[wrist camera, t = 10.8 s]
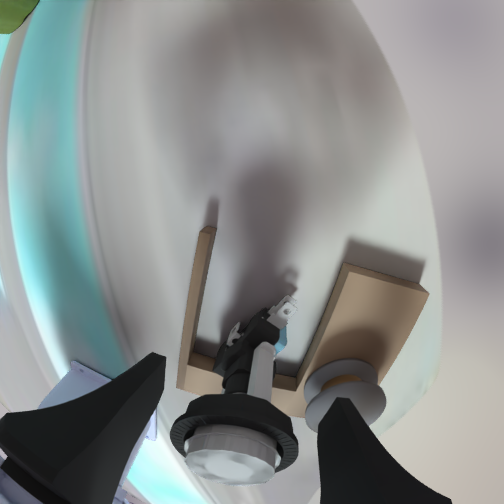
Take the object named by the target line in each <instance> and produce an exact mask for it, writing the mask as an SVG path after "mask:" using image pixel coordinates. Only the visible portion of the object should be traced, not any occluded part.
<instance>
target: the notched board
mask: <svg viewBox="0 0 504 504" xmlns="http://www.w3.org/2000/svg"><path fill="white" fill-rule="evenodd" d="M216 230H217V228H213V227H209V226H206V227H205V228H204V229H202V230H201V231H200V232H199V237H198V242H197V248H196V253H195V259H194V264H193V270H192V276H191V282H190V288H189V294H188V300H187V307H186V313H185V320H184V327H183V334H182V342H181V349H180V357H179V366H178V375H177V384H176V388H178V389H181V390H184V391H187V392H190V393H194V394H197V395H200V396H203V395H205V394H221V392H222V389H223V387H222V381H223V377H222V376H220V375H218V374H217V373H215V372H213V371H212V369H213V366H214V363H215V360H216V359H215V358H211V357H208V356H204V355H201V354H198V353H195V352H193V351H194V345H195V339H196V333H197V327H198V321H199V316H200V310H201V305H202V299H203V294H204V289H205V284H206V279H207V274H208V268H209V264H210V259H211V254H212V249H213V244H214V239H215V235H216ZM428 296H429V293H428V292H427V291H426V290H425V289H424V288H423V287H422V286H421V285H420V284H417V283H413V282H410V281H407V280H403V279H400V278H396V277H393V276H389V275H386V274H382V273H379V272H375V271H372V270H368V269H365V268H361V267H358V266H354V265H350V264H347V263H343V265H342V268H341V271H340V273H339V276H338V279H337V282H336V284H335V287H334V290H333V292H332V295H331V297H330V300H329V302H328V305H327V307H326V310H325V312H324V315H323V317H322V320H321V322H320V324H319V327H318V329H317V331H316V334H315V336H314V338H313V341H312V343H311V345H310V347H309V350H308V352H307V354H306V356H305V358H304V360H303V363H302V365H301V367H300V369H299V371H298V373H297V375H296V377H295V378H294V377H289V376H284V375H279V374H275V378H274V380H273V382H272V394H271V404H273V405H274V406H275V407H277V408H278V409H279V410H281V411H282V412H283V413H285V414H286V415H287V416H293V417H300V418H305V420H306V424H307V425H308V427H309V428H310V429H311V430H313V431H314V432H316V433H318V424H319V423H320V421H321V420H322V418H323V417H324V415H325V414H326V412H327V411H328V409H329V408H330V407H331V405H332V403H333V402H334V400H335V399H336V397H343V398H350V400H351V401H352V403H353V404H354V405H355V407H356V408H357V410H358V411H359V413H360V414H361V416H362V417H363V419H364V420H365V422H366V423H367V425H368V426H369V425H370V424H372V423H373V422H374V421H376V420H377V419H378V418H379V417H380V415H381V414H382V413H383V411H384V409H385V407H386V397H385V394H384V391H383V390H382V388H381V387H380V386H379V384H380V383H381V381H382V380H383V378H384V377H385V375H386V374H387V372H388V371H389V369H390V367H391V366H392V364H393V362H394V361H395V359H396V358H397V356H398V354H399V352H400V351H401V349H402V347H403V345H404V344H405V342H406V340H407V338H408V336H409V335H410V333H411V331H412V329H413V327H414V325H415V323H416V321H417V319H418V317H419V315H420V313H421V311H422V309H423V307H424V305H425V303H426V301H427V298H428Z"/></svg>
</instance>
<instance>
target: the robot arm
mask: <svg viewBox="0 0 504 504" xmlns="http://www.w3.org/2000/svg"><path fill="white" fill-rule="evenodd" d="M165 367H166V357H165V356H162V355H159V354H156V353H154V352H152V353H150V354H148V355H147V356H146V357H145V358H143V359H142V360H141V361H139V362H138V363H137V364H135V365H134V366H133V367H131V368H130V369H128V370H127V371H125V372H124V373H122V374H121V375H119V376H118V377H116V378H115V379H113V380H111V379H109V378H107V377H105V376H103V375H101V374H99V373H97V372H95V371H93V370H91V369H89V368H87V367H85V366H83V365H81V364H80V363H78V362H76V361H72V362H71V368H72V369H71V370H70V371H69V372H68V373H67V374H66V375H65V376H64V377H63V378H62V380H61V381H60V382H59V383H58V384H57V385H56V386H55V387H54V388H53V390H52V391H51V392H50V393H49V394H48V395H47V396H46V397H45V399H44V400H43V401H42V402H41V404H40V405H39V407H38V409H37V410H32V411H23V412H13V413H6V414H5V415H4V416H3V417H2V418H1V419H0V448H1V449H2V450H3V452H5V454H6V455H7V456H8V457H7V458H6V460H4V459H3V458H2V457H1V456H0V504H129V502H128V501H127V499H125V496H126V494H127V491H126V490H124V489H122V486H123V484H124V481H125V479H126V477H127V475H128V473H129V471H130V469H131V467H132V464H133V462H134V460H135V458H136V456H137V454H138V452H139V450H140V448H141V446H142V443H143V441H144V439H145V438H147V439H149V440H152V441H155V440H156V438H157V434H156V407H157V405H158V403H159V400H160V398H161V395H162V393H163V390H164V382H165ZM317 448H318V459H319V470H320V482H321V498H320V504H452V501H451V499H450V498H447V497H445V496H443V495H441V494H439V493H437V492H435V491H434V490H432V489H430V488H428V487H427V486H425V485H424V484H423V483H421V482H420V481H418V480H417V479H416V478H415V477H413V476H412V475H411V474H410V473H408V472H407V471H406V470H405V469H404V468H403V467H402V466H401V465H400V464H399V463H398V462H397V461H396V460H395V459H394V458H393V457H392V456H391V455H390V454H389V453H388V452H387V451H386V449H385V448H384V447H383V445H382V444H381V443H380V441H379V440H378V439H377V438H376V436H375V435H374V433H373V432H372V431H371V429H370V428H369V426H368V425H367V423H366V422H365V420H364V419H363V417H362V416H361V414H360V413H359V411H358V410H357V408H356V407H355V405H354V404H353V403H352V401H351V400H350V398H343V397H336V399H335V400H334V402H333V403H332V405H331V407H330V408H329V409H328V411H327V412H326V414H325V415H324V417H323V418H322V420H321V421H320V423H319V424H318V436H317Z"/></svg>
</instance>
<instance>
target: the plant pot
mask: <svg viewBox="0 0 504 504" xmlns="http://www.w3.org/2000/svg"><path fill="white" fill-rule="evenodd" d="M38 1H39V0H0V34H10V33H12V32H13V31H15V30H16V29H17V28H18V27H19V26H20V25H21V24H22V23H23V20H24V18H25V17H26V16H27V15H28V14H29V13H30V12H31V11H32V10H33V9H34V8H35V6H36V5H37V3H38Z"/></svg>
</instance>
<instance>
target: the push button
mask: <svg viewBox="0 0 504 504" xmlns="http://www.w3.org/2000/svg"><path fill="white" fill-rule="evenodd" d="M285 301H289V302H290V303H289V302H286V303H285V304H284V305H283V303H284V302H285ZM295 304H296V300H295V299H293V298H292V297H291V296H289V295H286V296H285V297H284V298H283V299H282V300H281V301H280V302H279V304H278V305H277V306H276V307H275V306H274V305H273V307H272V308H271V309H270V310H267V309H266V308H263V309H262V310H261V311H260V313H257V314H256V315H255V316H254V317H253V318H252V320H251V321H250V323H249V325H248V326H247V327H246V328H245V329H244V330H243V331H242V332H241V333H240V334H239V333H238V330H239V326H240V323H241V322H238V323H237V324H236V325H235V326H234V328H233V329H232V330H231V332H230V334H229V337H228V340H227V341H228V342H227V341H226V342H225V343H224V344H223V345H222V346H221V347H220V349H219V351H218V354H217V357H216V360H215V363H214V366H213V369H212V371H213V372H215V373H217V374H218V375H220V376H222V377H223V381H222V387H223V389H222V392H221V394H205V395H203V396H201V397H199V398H197V399H195V400H193V401H191V402H190V403H189V405H188V408H187V410H186V413H185V414H183V415H181V416H180V417H178V418H177V419H176V420H175V422H174V424H173V426H172V428H171V431H170V439H171V442H172V444H173V446H174V447H175V448H176V450H177V451H178V452H179V453H180V454H181V455H183V456H184V457H185V459H184V462H185V463H186V465H187V467H188V468H189V469H190V470H191V471H192V472H194V473H196V474H197V475H199V476H200V477H203V478H205V479H207V480H210V481H213V482H216V483H221V484H225V485H231V486H253V485H258V484H263V483H266V482H267V481H269V480H270V479H272V478H273V477H274V476H275V473H276V472H279V471H281V470H283V469H285V468H287V467H289V466H290V465H291V464H293V463H294V462H295V460H296V459H297V457H298V453H299V452H298V440H297V438H296V436H295V435H294V434H293V427H292V422H291V418H290V417H289V416H287V415H286V414H285V413H283V412H282V411H281V410H279V409H278V408H277V407H275V406H274V405H273V404H271V394H272V382H273V380H274V378H275V374H276V363H277V362H275V361H274V359H275V358H276V357H275V356H276V354H277V353H279V352H280V351H281V350H282V349H283V348H284V347H285V346H286V344H287V338H286V325H287V324H288V323H287V321H288V319H289V318H290V317H291V316H292V315H293V314H294V313H295V312H296V311H297V307H295V306H294V305H295ZM289 310H291V312H290V313H289V314H287V313H288V312H289ZM234 330H235V331H234ZM233 331H234V332H233Z"/></svg>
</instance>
